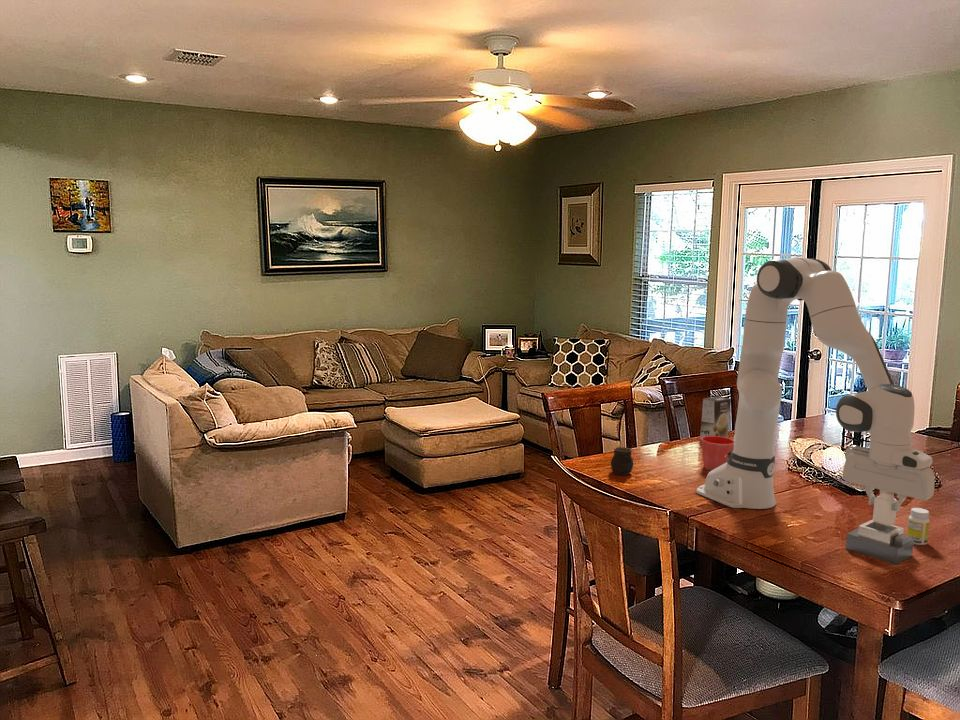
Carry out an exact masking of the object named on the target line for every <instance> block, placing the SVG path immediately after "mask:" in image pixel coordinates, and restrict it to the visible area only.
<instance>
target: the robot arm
mask: <svg viewBox="0 0 960 720" xmlns="http://www.w3.org/2000/svg"><path fill="white" fill-rule="evenodd" d="M756 275H757V276H756V283H755V284H754V285H753V286H752V287H751V289H750V293H749V296H748V299H747V303H746V309H745V317H744V326H743V335H742V346H741V352H740V358H739V365H738V373H737V379H736V386H737V387H736V389H737V391H738V402H737V403H738V404H737V405H738V406H737V410H736V411H737V412H736V418H735V419H736V420H735V424H734V437H733V440H734V449H733V451H730V452H729V453H726V454H727V455H726V454H725V455H726V456H725V457H728V460H727V462H726V463H724V464H722V465H721V466H719V467H717V468H715V469H714V470H709V472H708V473H707V475H706V478H705V481H704V484H701V485H700V486H698V487H697V488H696V491H695V493H696V494H698V495H700V496H703V497H705V498H707V499H710V500H712V501H715V502H718V503H720V504H722V505H724V506H727V507H730V508H733V509H743V508H744V509H752V510H754V509H755V510H756V509H757V510H762V509H763V510H764V509H766V510H767V509H770V508H774V507H775V506H776V498H775V492H774V474H775V467H776V466H775V464H776V455H775V444H776V433H777V427H778V426H777V425H778V420H779V415H780V408H781V404H782V403H781V402H782V393H783V391H782V386H781V384H780V382H779V373H780V367H781V361H782V356H783V354H784V349H785V340H786V329H787V322H788V321H787V320H788V311H789V307H790V304H791V303H792V302H793V301H795V300H797V301H799V302H800V301H804V303H805V305H806V307H807V310H808V314H809V318H810V322H811V326H812V329H813V332H814V333H815V336H816V337H817V339H818V341H820V342H821V343H822V344H824V345H825V346H826V347H829V348H831V349H834V350H837V351H839V352H841V353H844V354H846V355H847V356H848V357H850V358H851V359H852V360H853V361H854V362H855V363H856V365H857V367H858V370H859V372H860V375H861V377H862V379H863V381H864V384H865V387H866V390H867V391H861V392H854V393H850V394H847V395H846V394H845V395H844V396H842V397H841V398H840V399H839V400H838V402H837V404H836V407H835V416H836V420H837V422H838V424H839V425H840V426H841V427H842V428H843V429H844V430H846V431H849V432H854V433H862V432H863V433H864V432H865V433H869V435H870V438H869V439H870V440H869V447H863V446H859V445H855V444H852V445H851V446H848V447H847V448H846V449H845V454H844V455H845V456H844V458H845V462H844V465H843V470H842V478H843V480H844V481H845V482H848V483H851V484H856V485H859V486H864V491H865V493H866V495H867V498H868V505H870V506H874V501H875V498H876V497H877V496H875V494H874V490H875V489H876V490H879V491H880V490H884V491H888V492H892V493H894V494H896V498H897V499H898V500H897V502H895V503H892V506H891V507H892V508H891V510H893V511H896V513H897V512H900V511H901V505H902V503H904V501H905V500H906V499H907V497H908V498H913V499H917V500H921V501H927V500H929V499H931V498H932V497H933V496H934V493H935V474H934V471H933V468H931V467H930V466H931V465H932V464H933V457H932V456H930V455H928V454H926V453H925V452H923V451H921V450H919V449H917V448H914V446H912V436H911V434H912V433H911V432H912V429H913V428H914V424H915V423H914V422H915V409H916V408H915V399H914V395H913V393H912V391H911V390H909V389H908V388H906V387H903V386H901V385H897V384H894V381H893V380H892V377H891V374H890V371H889V369H888V367H887V365H886V363H885V360H884V358H883V355H882V352H881V351H880V348H879V346H878V344H877V342H876V341H875V339H874V337H873V335H872V334H871V333H870V332H869V331H868V329H867V328H866V327H865V325H864V323H863V321H862V319H861V317H860V315H859V311H858V308H857V305H856V302H855V299H854V297H853V294H852V291H851V289H850V287H849V284H848V283H847V281H846V278H845V277H844V275H842V273H840V272H838V271H837V270H832V269H831V267H830V266H829V264H828V263H826V262H825V261H823V260H820V259H816V258H806V257H798V256H796V257H791V258H789V257H788V258H773V259H770V260H767V261H766V262H764V263H763V264H762V265H761V266H760V267H759V269H758V271H757V274H756Z"/></svg>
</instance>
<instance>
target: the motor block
mask: <svg viewBox="0 0 960 720" xmlns="http://www.w3.org/2000/svg"><path fill="white" fill-rule="evenodd" d="M904 531H905V528H904V527H901V526H898V525H894V524H891V525H888V526H886V525H882V524H879V523H876V522H874V521H873V518H871V519H870V520H868V521H866V522H863V523H861V524H860V525H858V528H855V529H854V530H850V531H849V532H847V534H846V540H845V541H846V544H845V549H846V550H848V551H851V552H855V553H857V554H861V555H864V556H867V557H871V558H873V559H876V560H880V561H883V562H886V563H889V564H892V565H894V566H895V565H896V566H897V565H898V564H900V563H902V562H904V561H905V560H907V559H909V558H910V557H912V556H913V551H914V544H913V543H914V540H912V539H910V536H908V535H907V534H904Z"/></svg>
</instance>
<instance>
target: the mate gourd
mask: <svg viewBox="0 0 960 720" xmlns="http://www.w3.org/2000/svg"><path fill="white" fill-rule="evenodd" d="M634 447H635V445H632V446H631V447H630V448H629V447H625V446H617V447H614V449H613V456H612V458H611V460H610V467H611V471H612V472H613V474H616V475H618V476H626V475H629V474H630V473H631V472H632V470H633V468H634V462H633V461H634V460H633V458H632V457H633V456H632V451H633V450H632V449H633V448H634Z"/></svg>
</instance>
